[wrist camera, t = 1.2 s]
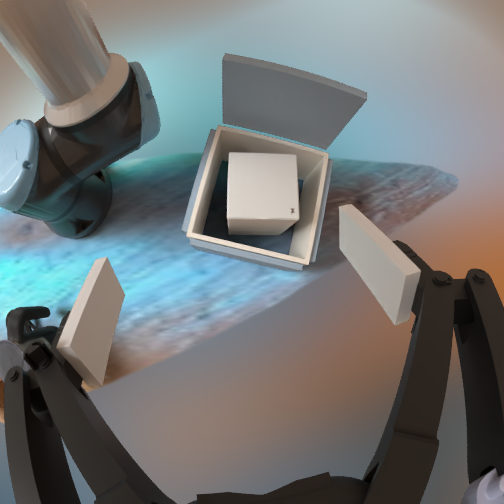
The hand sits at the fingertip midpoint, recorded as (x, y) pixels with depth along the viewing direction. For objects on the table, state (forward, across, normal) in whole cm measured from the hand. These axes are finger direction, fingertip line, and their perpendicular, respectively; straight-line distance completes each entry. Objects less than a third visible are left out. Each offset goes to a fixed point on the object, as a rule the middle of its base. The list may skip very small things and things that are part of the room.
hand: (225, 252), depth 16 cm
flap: (+28, +9, +1) cm, 29 cm away
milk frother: (+22, -42, -24) cm, 53 cm away
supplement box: (+33, +5, -13) cm, 35 cm away
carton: (+32, +5, -12) cm, 35 cm away
